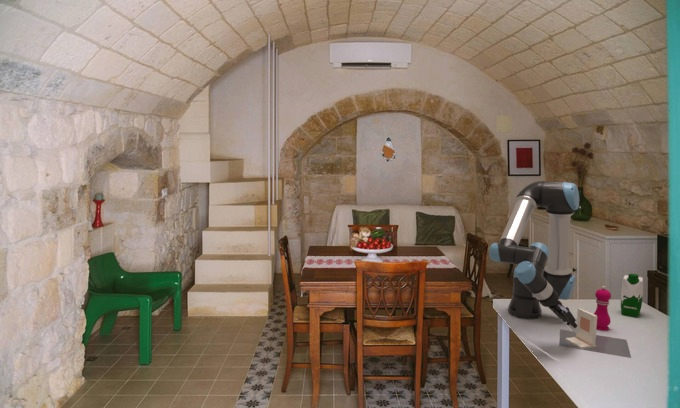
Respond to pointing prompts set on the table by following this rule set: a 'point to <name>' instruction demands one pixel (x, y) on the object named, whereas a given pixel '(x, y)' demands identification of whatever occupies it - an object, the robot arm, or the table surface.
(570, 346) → the slate board
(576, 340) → the base
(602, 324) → the pepper mill
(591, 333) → the cream flat block
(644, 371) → the table surface
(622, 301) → the milk carton
